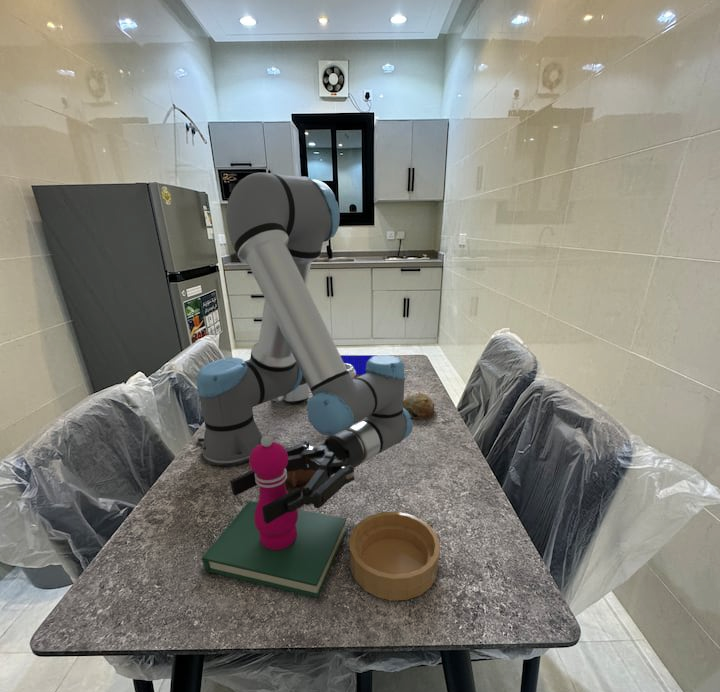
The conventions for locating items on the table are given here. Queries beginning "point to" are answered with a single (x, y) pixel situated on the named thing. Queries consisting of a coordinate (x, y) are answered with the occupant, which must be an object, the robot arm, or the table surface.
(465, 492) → the table surface
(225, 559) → the book
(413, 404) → the bread roll
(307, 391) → the spread jar
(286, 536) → the pepper mill
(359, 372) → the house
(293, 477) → the cup and saucer
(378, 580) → the bowl
